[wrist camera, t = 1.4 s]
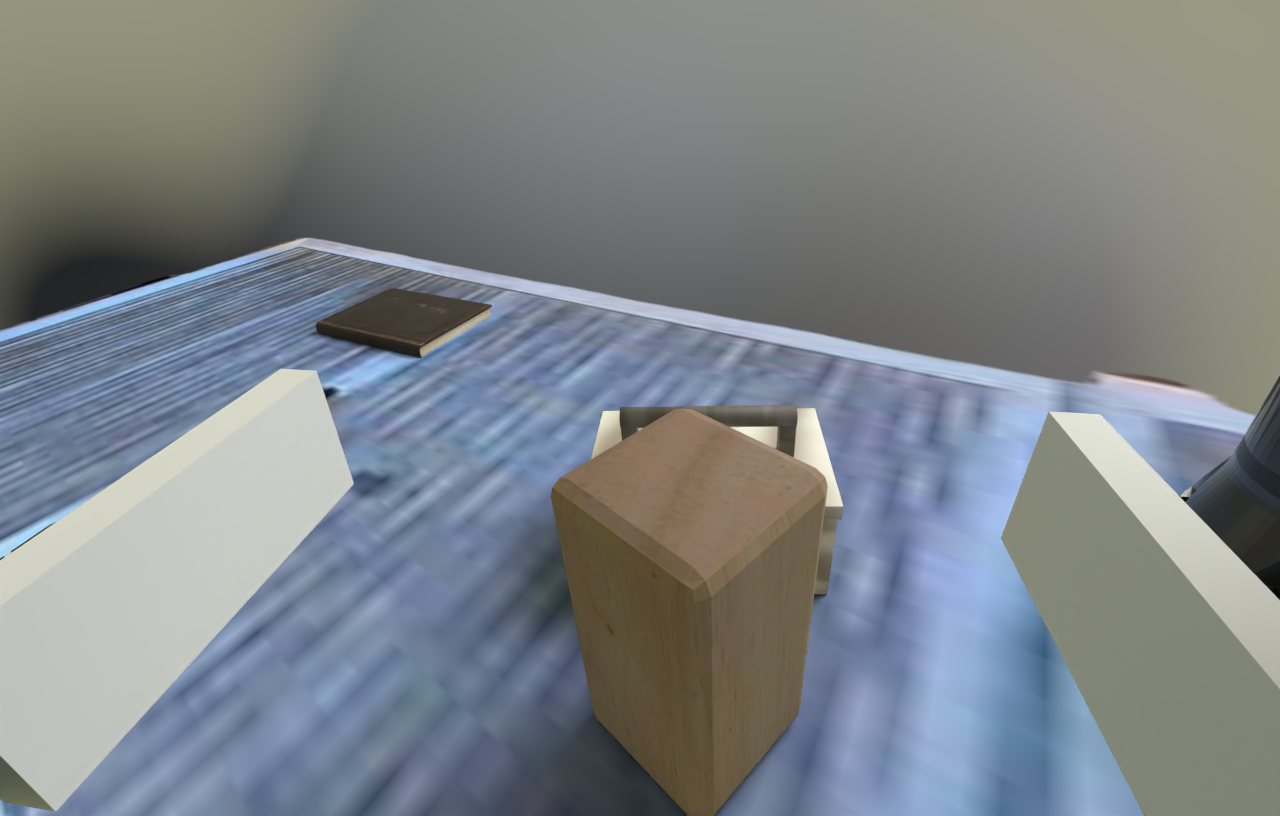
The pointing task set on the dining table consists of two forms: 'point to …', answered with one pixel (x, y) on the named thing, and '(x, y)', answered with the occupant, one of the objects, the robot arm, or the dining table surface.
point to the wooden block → (693, 596)
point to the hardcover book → (404, 321)
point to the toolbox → (764, 423)
